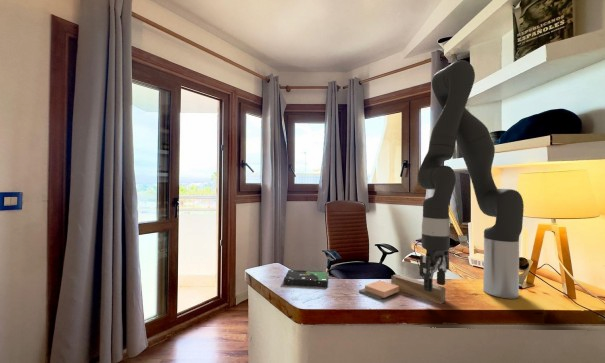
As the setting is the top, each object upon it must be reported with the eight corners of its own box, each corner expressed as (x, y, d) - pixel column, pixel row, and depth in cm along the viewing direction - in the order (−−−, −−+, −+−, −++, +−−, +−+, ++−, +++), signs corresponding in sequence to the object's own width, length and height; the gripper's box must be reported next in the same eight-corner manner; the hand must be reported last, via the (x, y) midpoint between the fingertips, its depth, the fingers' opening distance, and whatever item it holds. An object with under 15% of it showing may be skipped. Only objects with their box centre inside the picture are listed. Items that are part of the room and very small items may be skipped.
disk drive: (283, 287, 94) (328, 289, 92) (283, 278, 94) (328, 280, 93) (288, 277, 104) (328, 278, 103) (288, 269, 104) (328, 271, 103)
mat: (377, 285, 95) (377, 283, 95) (397, 291, 90) (397, 289, 90) (358, 292, 89) (359, 290, 89) (379, 299, 83) (379, 297, 83)
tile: (398, 291, 88) (379, 285, 94) (399, 286, 88) (379, 280, 94) (384, 297, 83) (364, 290, 88) (384, 292, 83) (364, 285, 89)
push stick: (396, 286, 95) (396, 274, 95) (445, 301, 83) (445, 287, 83) (391, 288, 93) (391, 275, 93) (440, 304, 81) (441, 290, 81)
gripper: (437, 237, 77) (436, 297, 77) (458, 232, 86) (457, 286, 86) (411, 233, 82) (410, 289, 82) (433, 229, 92) (432, 279, 92)
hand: (434, 287), depth 84 cm, fingers open, 8 cm apart
